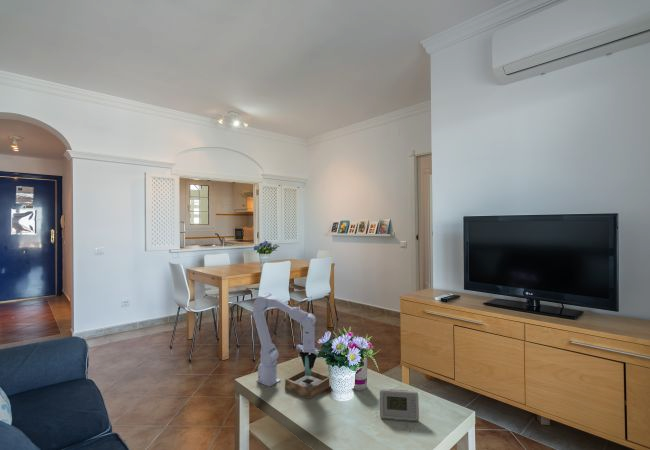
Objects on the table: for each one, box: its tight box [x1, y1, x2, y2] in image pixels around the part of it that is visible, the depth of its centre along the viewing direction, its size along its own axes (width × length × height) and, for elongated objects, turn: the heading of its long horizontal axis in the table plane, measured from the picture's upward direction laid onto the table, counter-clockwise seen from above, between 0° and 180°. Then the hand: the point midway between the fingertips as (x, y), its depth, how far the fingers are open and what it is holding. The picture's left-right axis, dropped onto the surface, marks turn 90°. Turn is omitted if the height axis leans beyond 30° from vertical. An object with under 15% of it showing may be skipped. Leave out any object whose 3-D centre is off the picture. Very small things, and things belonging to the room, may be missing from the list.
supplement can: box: [353, 357, 368, 391], centre depth 166 cm, size 8×8×15 cm
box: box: [284, 368, 330, 400], centre depth 165 cm, size 16×16×4 cm
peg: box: [304, 355, 312, 376], centre depth 165 cm, size 3×3×9 cm
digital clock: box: [379, 388, 420, 422], centre depth 141 cm, size 16×9×11 cm, turn 72°
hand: (308, 367), depth 165 cm, fingers closed on peg, 3 cm apart
